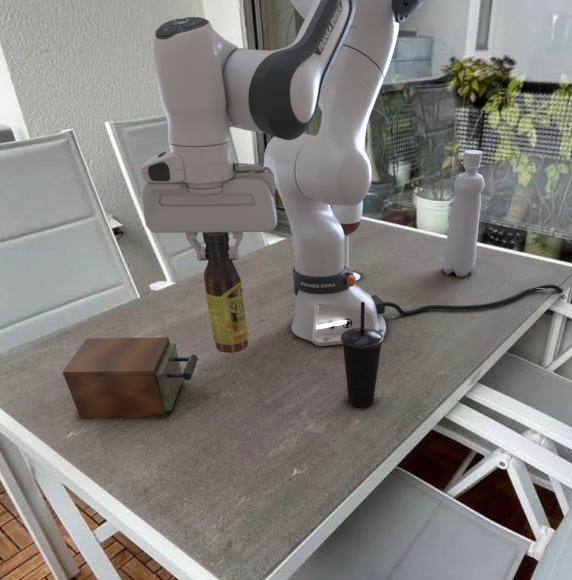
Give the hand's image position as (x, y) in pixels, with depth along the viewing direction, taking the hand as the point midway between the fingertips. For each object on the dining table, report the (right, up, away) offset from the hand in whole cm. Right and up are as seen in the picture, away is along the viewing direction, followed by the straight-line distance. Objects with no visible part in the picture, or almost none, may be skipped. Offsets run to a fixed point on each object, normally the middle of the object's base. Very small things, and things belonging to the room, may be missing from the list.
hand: (218, 259), depth 90 cm
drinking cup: (+24, -21, +17) cm, 36 cm away
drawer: (-17, -19, +17) cm, 31 cm away
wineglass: (+21, +22, +65) cm, 72 cm away
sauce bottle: (0, -12, +11) cm, 16 cm away
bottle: (+53, +25, +68) cm, 89 cm away
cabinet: (-21, -20, +17) cm, 34 cm away
